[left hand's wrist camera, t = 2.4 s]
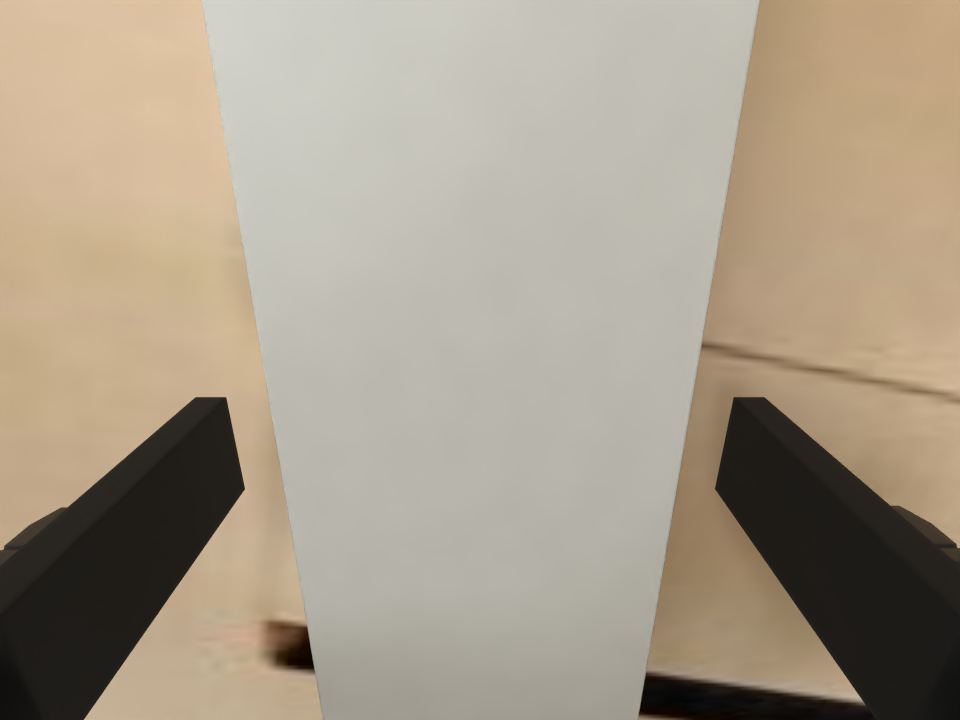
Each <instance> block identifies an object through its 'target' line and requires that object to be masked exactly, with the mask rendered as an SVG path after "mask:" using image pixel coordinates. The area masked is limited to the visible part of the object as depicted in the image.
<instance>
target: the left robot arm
mask: <svg viewBox="0 0 960 720" xmlns="http://www.w3.org/2000/svg"><path fill="white" fill-rule="evenodd" d="M244 490H245V487H244V482H243V477H242V472H241V468H240V463H239V458H238V453H237V448H236V443H235V438H234V433H233V428H232V424H231V419H230V414H229V409H228V404H227V399H226V397H195V398H194V399H193V400H192V401H191V402H190V403H188V404H187V405H186V406H185V407H184V408H183V409H181V410H180V411H179V412H178V413H177V414H176V415H175V416H173V417H172V418H171V419H170V420H169V421H168V422H166V423H165V424H164V425H163V426H162V427H161V428H159V429H158V430H157V431H156V432H155V433H154V434H152V435H151V436H150V437H149V438H148V439H147V440H145V441H144V442H143V443H142V444H141V445H140V446H139V447H137V448H136V449H135V450H134V451H133V452H132V453H130V454H129V455H128V456H127V457H126V458H125V459H123V460H122V461H121V462H120V463H119V464H118V465H116V466H115V467H114V468H113V469H112V470H111V471H110V472H108V473H107V474H106V475H105V476H104V477H103V478H101V479H100V480H99V481H98V482H97V483H96V484H94V485H93V486H92V487H91V488H90V489H89V490H87V491H86V492H85V493H84V494H83V495H82V496H80V497H79V498H78V499H77V500H76V501H75V502H74V503H72V504H71V505H70V506H69V507H68V508H60V509H58V510H56V511H54V512H52V513H51V514H49V515H47V516H45V517H43V518H42V519H40V520H38V521H36V522H34V523H33V524H31V525H29V526H28V527H27V528H26V529H24V530H23V531H22V532H21V533H20V534H18V535H17V536H16V537H15V538H13V539H12V540H11V541H10V542H9V543H7V544H6V545H5V546H4V550H0V720H84V719H85V717H86V716H87V714H88V713H89V712H90V710H91V709H92V707H93V706H94V704H95V703H96V701H97V700H98V699H99V697H100V696H101V694H102V693H103V691H104V690H105V689H106V687H107V686H108V684H109V683H110V681H111V680H112V679H113V677H114V676H115V674H116V673H117V671H118V670H119V669H120V667H121V666H122V664H123V663H124V661H125V660H126V659H127V657H128V656H129V654H130V653H131V651H132V650H133V649H134V647H135V646H136V644H137V643H138V641H139V640H140V638H141V637H142V636H143V634H144V633H145V631H146V630H147V628H148V627H149V626H150V624H151V623H152V621H153V620H154V618H155V617H156V616H157V614H158V613H159V611H160V610H161V608H162V607H163V606H164V604H165V603H166V601H167V600H168V598H169V597H170V596H171V594H172V593H173V591H174V590H175V588H176V587H177V586H178V584H179V583H180V581H181V580H182V578H183V577H184V575H185V574H186V573H187V571H188V570H189V568H190V567H191V565H192V564H193V563H194V561H195V560H196V558H197V557H198V555H199V554H200V553H201V551H202V550H203V548H204V547H205V545H206V544H207V543H208V541H209V540H210V538H211V537H212V535H213V534H214V533H215V531H216V530H217V528H218V527H219V525H220V524H221V523H222V521H223V520H224V518H225V517H226V515H227V514H228V512H229V511H230V510H231V508H232V507H233V505H234V504H235V502H236V501H237V500H238V498H239V497H240V495H241V494H242V492H243V491H244ZM715 490H716V491H717V492H718V494H719V495H720V497H721V498H722V500H723V501H724V502H725V504H726V505H727V507H728V508H729V510H730V511H731V513H732V514H733V515H734V517H735V518H736V520H737V521H738V523H739V524H740V525H741V527H742V528H743V530H744V531H745V533H746V534H747V535H748V537H749V538H750V540H751V541H752V543H753V544H754V545H755V547H756V548H757V550H758V551H759V553H760V554H761V555H762V557H763V558H764V560H765V561H766V563H767V564H768V565H769V567H770V568H771V570H772V571H773V573H774V574H775V576H776V577H777V578H778V580H779V581H780V583H781V584H782V586H783V587H784V588H785V590H786V591H787V593H788V594H789V596H790V597H791V598H792V600H793V601H794V603H795V604H796V606H797V607H798V608H799V610H800V611H801V613H802V614H803V616H804V617H805V618H806V620H807V621H808V623H809V624H810V626H811V627H812V628H813V630H814V631H815V633H816V634H817V636H818V637H819V639H820V640H821V641H822V643H823V644H824V646H825V647H826V649H827V650H828V651H829V653H830V654H831V656H832V657H833V659H834V660H835V661H836V663H837V664H838V666H839V667H840V669H841V670H842V671H843V673H844V674H845V676H846V677H847V679H848V680H849V681H850V683H851V684H852V686H853V687H854V689H855V690H856V691H857V693H858V694H859V696H860V697H861V699H862V700H863V702H864V703H865V704H866V706H867V707H868V709H869V710H870V712H871V713H872V714H873V716H874V717H875V719H876V720H960V548H957V546H956V543H954V542H953V541H952V540H951V539H950V538H948V537H947V536H946V535H945V534H943V533H942V532H941V531H940V530H939V529H937V528H936V527H935V526H934V525H932V524H931V523H929V522H928V521H926V520H924V519H922V518H920V517H919V516H917V515H915V514H913V513H911V512H910V511H908V510H906V509H904V508H902V507H900V506H890V505H889V504H888V503H886V502H885V501H884V500H883V499H882V498H881V497H879V496H878V495H877V494H876V493H875V492H874V491H873V490H871V489H870V488H869V487H868V486H867V485H866V484H864V483H863V482H862V481H861V480H860V479H859V478H857V477H856V476H855V475H854V474H853V473H852V472H850V471H849V470H848V469H847V468H846V467H845V466H844V465H842V464H841V463H840V462H839V461H838V460H837V459H835V458H834V457H833V456H832V455H831V454H830V453H828V452H827V451H826V450H825V449H824V448H823V447H821V446H820V445H819V444H818V443H817V442H816V441H814V440H813V439H812V438H811V437H810V436H809V435H808V434H806V433H805V432H804V431H803V430H802V429H801V428H799V427H798V426H797V425H796V424H795V423H794V422H792V421H791V420H790V419H789V418H788V417H787V416H785V415H784V414H783V413H782V412H781V411H780V410H778V409H777V408H776V407H775V406H774V405H773V404H772V403H770V402H769V401H768V400H767V399H766V398H765V397H734V399H733V404H732V409H731V414H730V419H729V423H728V428H727V433H726V438H725V443H724V448H723V453H722V458H721V463H720V467H719V472H718V477H717V482H716V487H715Z"/></svg>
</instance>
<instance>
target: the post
mask: <svg viewBox="0 0 960 720" xmlns="http://www.w3.org/2000/svg"><path fill="white" fill-rule="evenodd" d="M201 1H202V7H203V13H204V19H205V25H206V30H207V36H208V42H209V48H210V54H211V60H212V66H213V72H214V78H215V84H216V90H217V95H218V101H219V107H220V113H221V119H222V125H223V131H224V137H225V143H226V149H227V154H228V160H229V166H230V172H231V178H232V184H233V190H234V196H235V202H236V208H237V214H238V219H239V225H240V231H241V237H242V243H243V249H244V255H245V261H246V267H247V273H248V278H249V284H250V290H251V296H252V302H253V308H254V314H255V320H256V326H257V332H258V338H259V343H260V349H261V355H262V361H263V367H264V373H265V379H266V385H267V391H268V397H269V403H270V408H271V414H272V420H273V426H274V432H275V438H276V444H277V450H278V456H279V462H280V467H281V473H282V479H283V485H284V491H285V497H286V503H287V509H288V515H289V521H290V527H291V532H292V538H293V544H294V550H295V556H296V562H297V568H298V574H299V580H300V586H301V591H302V597H303V603H304V609H305V615H306V621H307V627H308V633H309V639H310V645H311V651H312V656H313V662H314V668H315V674H316V680H317V686H318V692H319V698H320V704H321V710H322V716H323V720H638V715H639V709H640V703H641V697H642V691H643V685H644V680H645V674H646V668H647V662H648V656H649V650H650V644H651V638H652V633H653V627H654V621H655V615H656V609H657V603H658V597H659V591H660V586H661V580H662V574H663V568H664V562H665V556H666V550H667V544H668V539H669V533H670V527H671V521H672V515H673V509H674V503H675V497H676V491H677V486H678V480H679V474H680V468H681V462H682V456H683V450H684V444H685V439H686V433H687V427H688V421H689V415H690V409H691V403H692V397H693V392H694V386H695V380H696V374H697V368H698V362H699V356H700V350H701V345H702V339H703V333H704V327H705V321H706V315H707V309H708V303H709V298H710V292H711V286H712V280H713V274H714V268H715V262H716V256H717V250H718V245H719V239H720V233H721V227H722V221H723V215H724V209H725V203H726V198H727V192H728V186H729V180H730V174H731V168H732V162H733V156H734V151H735V145H736V139H737V133H738V127H739V121H740V115H741V109H742V104H743V98H744V92H745V86H746V80H747V74H748V68H749V62H750V57H751V51H752V45H753V39H754V33H755V27H756V21H757V15H758V10H759V4H760V0H201Z"/></svg>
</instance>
